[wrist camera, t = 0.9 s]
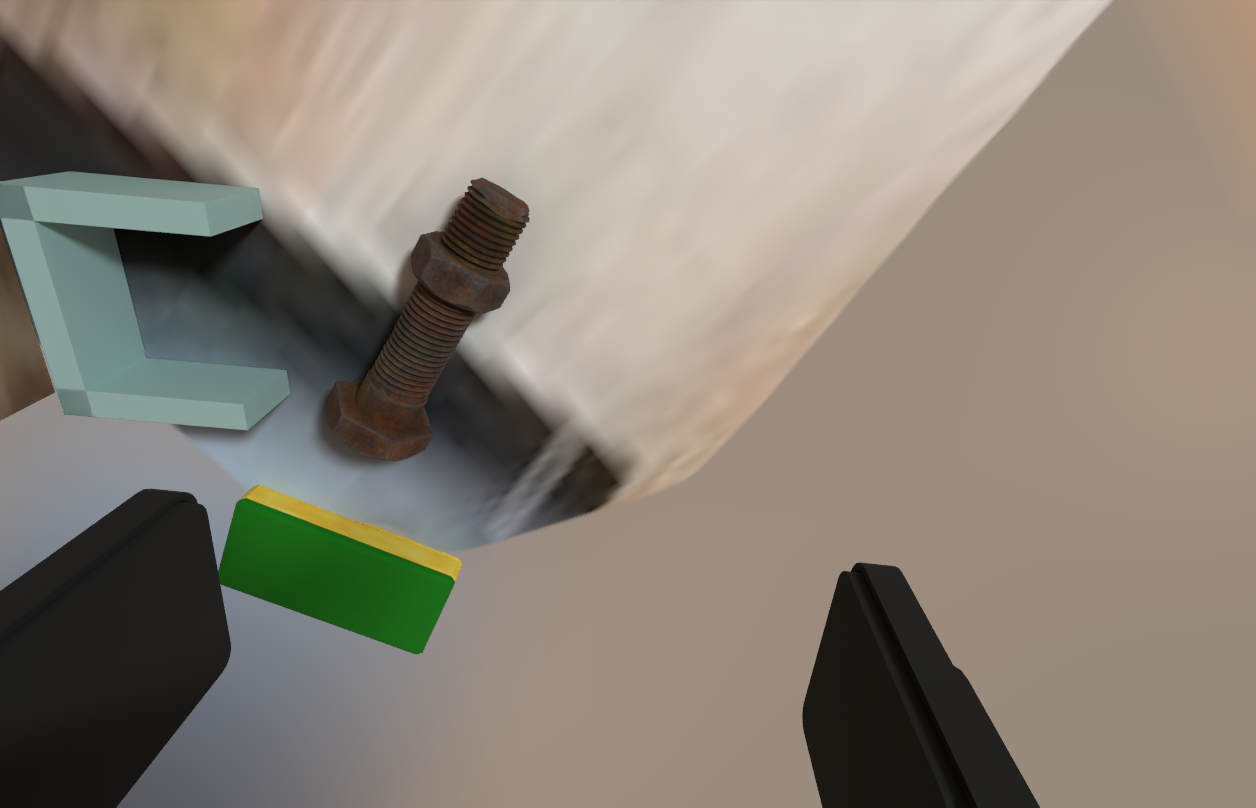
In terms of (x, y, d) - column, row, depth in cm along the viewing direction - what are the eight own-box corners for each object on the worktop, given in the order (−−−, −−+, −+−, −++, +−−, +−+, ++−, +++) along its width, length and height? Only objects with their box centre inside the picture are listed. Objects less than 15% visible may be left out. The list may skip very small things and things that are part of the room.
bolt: (530, 192, 35) (408, 408, 40) (443, 146, 32) (322, 387, 37) (568, 240, 31) (426, 473, 36) (472, 193, 28) (332, 456, 33)
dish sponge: (258, 478, 42) (236, 499, 39) (464, 558, 44) (454, 583, 42) (235, 559, 44) (214, 583, 42) (430, 630, 47) (420, 657, 44)
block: (69, 171, 33) (-11, 183, 29) (258, 188, 33) (204, 202, 29) (126, 379, 38) (64, 414, 34) (290, 394, 38) (247, 430, 34)
